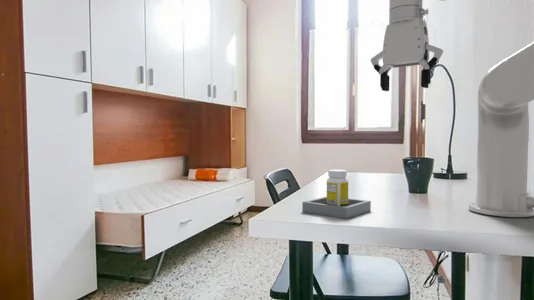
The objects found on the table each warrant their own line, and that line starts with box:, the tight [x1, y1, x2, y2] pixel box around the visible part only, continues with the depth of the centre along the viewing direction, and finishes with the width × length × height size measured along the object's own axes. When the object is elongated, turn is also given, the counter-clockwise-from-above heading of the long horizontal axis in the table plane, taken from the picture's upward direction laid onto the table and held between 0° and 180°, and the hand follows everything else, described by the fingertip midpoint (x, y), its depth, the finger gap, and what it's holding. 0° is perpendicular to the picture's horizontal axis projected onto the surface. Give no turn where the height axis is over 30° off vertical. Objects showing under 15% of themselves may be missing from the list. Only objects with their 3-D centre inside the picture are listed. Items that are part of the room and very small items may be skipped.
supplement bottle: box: [326, 169, 349, 207], centre depth 85 cm, size 5×5×8 cm
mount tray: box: [301, 196, 372, 220], centre depth 85 cm, size 11×11×2 cm
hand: (404, 89), depth 93 cm, fingers open, 9 cm apart
